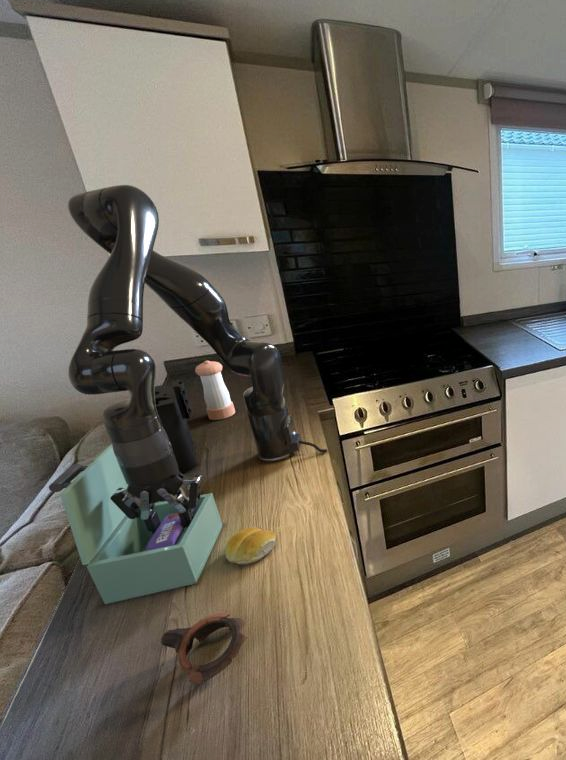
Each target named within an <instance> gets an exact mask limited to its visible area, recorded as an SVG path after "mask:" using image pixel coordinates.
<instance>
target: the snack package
mask: <svg viewBox="0 0 566 760" xmlns="http://www.w3.org/2000/svg"><path fill="white" fill-rule="evenodd" d="M191 510H192V513H193V511H194V510H195V508H194V509H191ZM178 513H179V512H177V513H173V514H169V515H167V516H166V517H165V518H164V519H163V520H162V522H161V524H160V525H159V527H158V528H157V530H156V532H155V533H154V535H153V536H152V538H151V539H150V541H149V543H148V545H147V547H146V550H145V551H149V550H154V549H159V548H164V547H169V546H173V545H176V543H177V542H178V540H179V538H180V536H181V534H182V533H183V531H184V529H185V528H183V526H182V523H181V520H180V517H179V515H178Z"/></svg>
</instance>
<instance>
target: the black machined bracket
mask: <svg viewBox="0 0 566 760" xmlns="http://www.w3.org/2000/svg"><path fill="white" fill-rule="evenodd" d="M187 394H188V393H187V391H186V389H185V385H184V382H183V379H176V380H174V381H172V386H164V385H163V384H159V385H155V404H156V409H157V412H158V415H159V418H160V421H161V423H162V426H163V428H164V430H165V432H166V434H167V436H168V438H169V441H170V442H171V445H172V450H173V452H174V455H175V458H176V461H177V464H178V468H179V472H180V473H181V474H184V473H187V472H189V471H190V470H193V468H194V467H195V466H196V465H197V459H196V458H197V457H196V456H197V455H196V450H195V443H194V440H193V436H192V434H191V430H190V427H189V425H188V421H187V419H188V420H190V419H192V418H193V417H194V415H193V410H192V407H191V405H190V401H189V397H188V396H187Z"/></svg>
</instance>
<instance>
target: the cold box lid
mask: <svg viewBox="0 0 566 760" xmlns="http://www.w3.org/2000/svg"><path fill="white" fill-rule="evenodd" d="M126 487H128V484H127V483H126V481H125V479H124V476H123V474H122V472H121V469H120V467H119V464H118V462H117V459H116V457H115V454H114V451H113V446H112V443H111V444H110V445H109V446H107V448H106V449H104V451H102V452H101V454H99V456H97V457H96V458H95V459H94V460H93V461H92V462H91V463H90V464H89V465H82V464H80V463H73V464H71V465H70V466H69V467H67V469H65V470H64V471H63V472H62V473H61V474H60V475H59V476H58V477H56V478H55V480H53V482H52V483H50V484H49V486H48V490H49V492H53V493H60V494H59V495H60V498H61V499H60V500H61V502H62V505H63V508H64V511H65V514H66V517H67V520H68V523H69V526H70V530H71V532H72V533H71V534H72V536H73V539H74V542H75V545H76V548H77V549H76V550H77V552H78V554H79V559H80V562H81V565H82V566H86V565H87V566H88V564H89V563H90V562H91V561H92V559H93V558H94V557H95V555H96V554H97V553H98V551H99V550H100V549H101V548H102V546H103V545H104V544H105V542H106V541H107V540H108V538H109V537H110V536H111V534H112V533H113V532H114V531H115V529H116V528H117V527H118V525H119V524H120V523H121V521H122V520H123V519H124V517H125V516H126V515H125V514H124V513H123V512H122V511H121V510H120V509H119V508H118V506H117V505H116V504H115V503H114V502H113V501H112V500H111V499H110V498H111V496H112V495H113V494H114V493H115V492H116V490H117V489H118V488H126Z"/></svg>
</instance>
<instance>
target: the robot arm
mask: <svg viewBox="0 0 566 760" xmlns="http://www.w3.org/2000/svg"><path fill="white" fill-rule="evenodd" d="M67 202H68V203H67V207H68V208H67V209H68V212H69V214H70V217H71V219H72V220H73V221H74V223H75V224H76V225H77V227H78V228H79V229H80V230H81V231H82V232H83V233H84V234H85V235H86V236H87V237H89V238H90V239H91V241H93V242H94V243H95V244H96V245H98V246H99V247H100V248H101V249H103V250H104V251H106V253H108V254H109V256H108V258H107V260H106V261H105V263H104V264H103V266H102V268H101V269H100V270H99V273H98V274H97V275H96V277H95V278H94V280H93V282H92V284H91V287H90V291H89V293H88V297H87V313H86V315H87V316H86V325H85V326H86V327H85V329H84V331H83V333H82V335H81V338H80V340H79V343H78V344H77V347H76V349H75V350H74V353H73V354H72V357H71V359H70V361H69V364H68V369H67V371H68V372H67V374H68V375H67V376H68V380H69V383H70V384H71V386H72V387H73V388H74V389H75V390H76V391H77V392H79V393H81V394H82V395H83V394H84V395H88V396H89V395H91V396H92V395H93V396H95V395H96V396H97V395H103V394H109V393H111V394H112V393H119V392H127V391H128V392H129V394H130V397H128V398H125V399H121V400H118V401H116V402H113V403H110V404H109V405H107V406H106V407H105V408H104V409H102V412H101V418H102V421H103V424H104V426H105V429H106V433H107V434H108V436H109V439H110V442H111V444H112V446H113V451H114V454H115V457H116V459H117V462H118V464H119V467H120V469H121V472H122V474H123V476H124V479H125V481H126V483H127V484H128V487H126V488H118V489H117V490H116V492H115V493H114V494H113V495H112V496H111V498H110V499H111V500H112V501H113V502H114V503H115V504H116V505H117V506H118V508H119V509H120V510H121V511H122V512H123V513H124V514H125V515H126V516H127V517H128V518H129V519H135V518H141V519H143V520H144V522H145V525H146V527H147V530H148V531H151V532H152V534H154V533H155V532H156V530H157V528H158V527H159V525H160V524H161V522H160V520H159V517H158V514H157V512H156V511H155V512H154V508H155V503H158V502H164V501H167V502H168V503H169V504H170V505H171V506H174V507H175V508H176V509H177V510H178V511H179V513H178V515H179V517H180V520H181V523H182V526H183V528H186V527H189V525H190V523H191V521H192V520H193V518H194V516H193V513H192V510H191V508H195V507H196V505H197V503H198V501H199V500H200V496H201V495H202V486H203V485H202V484H203V476H202V475H201V474H196V475H194V477H188V476H187V477H186V476H185V475H184V474H183V473H180V472H179V468H178V464H177V461H176V458H175V455H174V452H173V450H172V445H171V442H170V441H169V438H168V436H167V434H166V432H165V430H164V428H163V426H162V423H161V421H160V418H159V415H158V412H157V409H156V404H155V386H156V374H157V368H156V363H155V360H154V359H153V357H152V356H151V354H149V353H148V352H146V351H145V350H142V349H139V348H128V349H127V348H126V349H118V350H117V349H116V350H115V348H117V347H118V346H121V345H124V344H126V343H130V342H134V341H136V340H138V339H140V337H141V336H142V335H143V330H144V328H143V327H144V294H145V293H144V292H145V285H146V286H147V287H148V288H149V289H151V291H152V292H153V293H155V294H156V296H158V297H159V298H160V300H161V301H163V303H164V304H165V305H166V306H167V307H169V308H170V309H171V310H172V311H173V313H175V314H176V315H177V316H178V317H179V318H180V319H181V320H183V322H184V323H186V324H187V325H188V326H189V327H190V328H191V329H192V330H193V331H194V332H195V333H196V334H197V335H198V336H199V337H201V338H202V339H203V340H204V341H205V342H206V343H207V344H208V346H209V347H210V348H211V349H212V350H213V351H214V353H215V354H216V355H217V356H218V357H219V359H221V361H222V362H223V363H224V365H225V366H226V367H227V368H228V369H229V370H230V371H231V372H232V373H234V374H236V375H239V376H244V377H250V378H251V383H252V384H251V385H252V386H250V387H248V388H247V389H245V391H243V393H242V397H243V401H244V406H245V409H246V413H247V416H248V420H249V421H248V422H249V425H250V428H251V432H252V435H253V439H254V443H255V447H256V451H257V454H258V455H257V456H258V459H259V460H260V461H261V462H264V463H274V462H281V461H283V460H286V459H288V458H290V457H295V455H296V453H297V451H298V452H299V451H300V449H301V448H300V447H301V445H306V446H311V447H312V448H314V449H315V450H316V451H317V452H320V453H328V449H327V448H324V449H322V448H321V447H319V446H318V445H317V444H315V443H312V442H310V441H304V440H302V436H301V433H296V430H295V425H294V420H293V416H291V415H290V414H289V410H288V409H289V408H288V404H287V400H286V396H285V385H286V381H285V374H284V367H283V362H282V358H281V354H280V351H279V350H278V348H277V347H276V346H275V345H274V344H272V343H269V342H261V341H255V340H254V341H253V340H250V339H248V338H246V337H245V336H244V335H243V334H241V332H240V331H238V330H237V328H235V327H234V325H233V324H232V322H231V321H230V317H229V311H228V307H227V303H226V301H225V299H224V298H223V296H222V295H221V294H220V293H219V291H218V290H217V289H216V288H215V287H214V286H213V285H212V284H211V283H210V282H209V280H208V279H206V277H204V276H203V275H202V274H200V273H199V272H197V271H195V270H194V269H192V268H190V267H188V266H186V265H184V264H181V263H179V262H177V261H175V260H173V259H170V258H168V257H167V256H164V255H162V254H160V253H158V252H156V251H155V250H154V246H155V242H156V238H157V234H158V230H159V224H160V223H159V222H160V221H159V220H160V217H159V212H158V210H157V207H156V204H155V202H154V201H153V200H152V199H151V197H150V196H149V195H148V194H147V193H146V192H145V191H143V190H142V189H141V188H138V187H136V186H135V185H129V184H118V185H112V186H107V187H102V188H97V189H93V190H89V191H85V192H80V193H76V194H75V195H73V196H71V197H70V198H69V200H68V201H67ZM182 485H184V486H185V488H186V490H187V491H189V492H188V496H186V492H185V491H184V489H182V488H183V487H182ZM133 496H134V497H133ZM135 497H136V498H138V499H139V500H140V503H139V502H138V501H137V500H136V499H135ZM187 497H189V499H188V498H187Z"/></svg>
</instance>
